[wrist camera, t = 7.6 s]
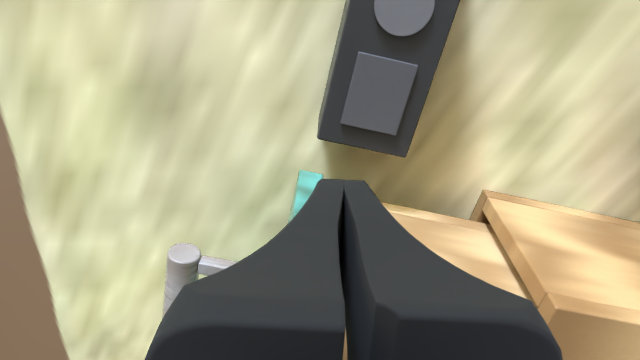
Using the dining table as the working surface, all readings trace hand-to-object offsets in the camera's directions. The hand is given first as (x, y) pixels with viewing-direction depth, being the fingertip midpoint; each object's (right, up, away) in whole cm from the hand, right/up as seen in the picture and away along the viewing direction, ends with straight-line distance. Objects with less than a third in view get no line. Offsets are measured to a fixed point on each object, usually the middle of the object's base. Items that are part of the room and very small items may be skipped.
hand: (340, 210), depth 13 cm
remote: (+2, +8, +7) cm, 11 cm away
